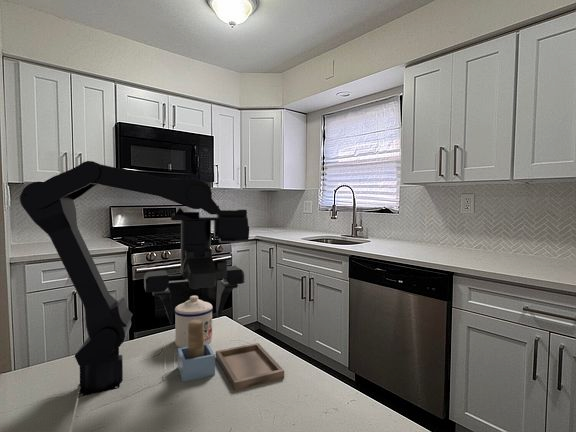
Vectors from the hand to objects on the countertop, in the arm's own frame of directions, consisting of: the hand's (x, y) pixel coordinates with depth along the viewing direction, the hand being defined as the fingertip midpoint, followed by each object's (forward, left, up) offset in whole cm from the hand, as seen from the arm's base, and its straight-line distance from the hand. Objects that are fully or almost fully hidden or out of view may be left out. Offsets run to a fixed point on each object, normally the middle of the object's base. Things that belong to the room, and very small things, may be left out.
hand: (195, 320), depth 66 cm
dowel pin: (0, 0, -10) cm, 10 cm away
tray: (+10, -3, -11) cm, 15 cm away
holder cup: (0, 0, -11) cm, 11 cm away
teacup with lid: (+3, +16, -11) cm, 20 cm away
